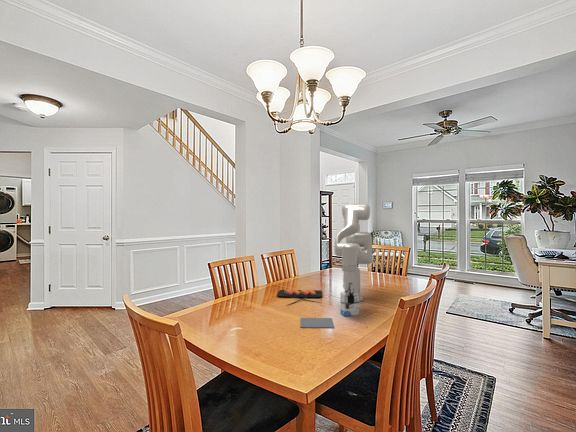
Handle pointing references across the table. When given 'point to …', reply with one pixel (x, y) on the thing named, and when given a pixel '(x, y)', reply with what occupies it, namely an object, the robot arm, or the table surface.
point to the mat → (316, 323)
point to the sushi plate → (300, 294)
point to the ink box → (349, 304)
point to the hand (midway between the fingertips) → (349, 300)
